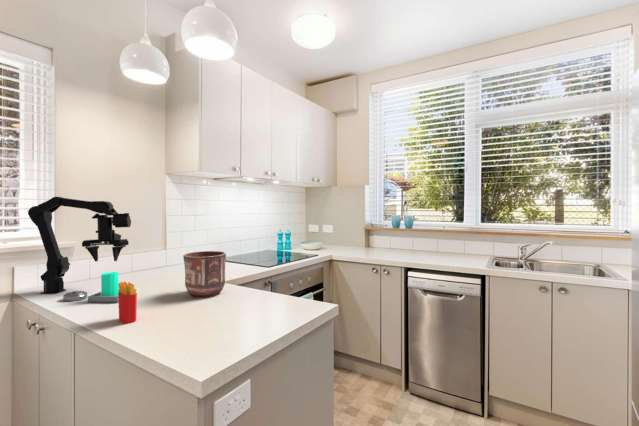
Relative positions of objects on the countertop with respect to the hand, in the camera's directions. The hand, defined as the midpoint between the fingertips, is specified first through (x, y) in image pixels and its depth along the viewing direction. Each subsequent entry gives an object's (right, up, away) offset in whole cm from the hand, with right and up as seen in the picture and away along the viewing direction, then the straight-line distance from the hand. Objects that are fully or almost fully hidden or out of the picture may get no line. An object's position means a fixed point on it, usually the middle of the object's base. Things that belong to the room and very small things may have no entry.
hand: (106, 261), depth 150 cm
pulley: (-2, -14, -16) cm, 21 cm away
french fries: (+34, -14, -40) cm, 55 cm away
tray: (+13, -14, -15) cm, 24 cm away
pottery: (+49, -14, -6) cm, 51 cm away
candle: (+12, -13, -16) cm, 24 cm away
